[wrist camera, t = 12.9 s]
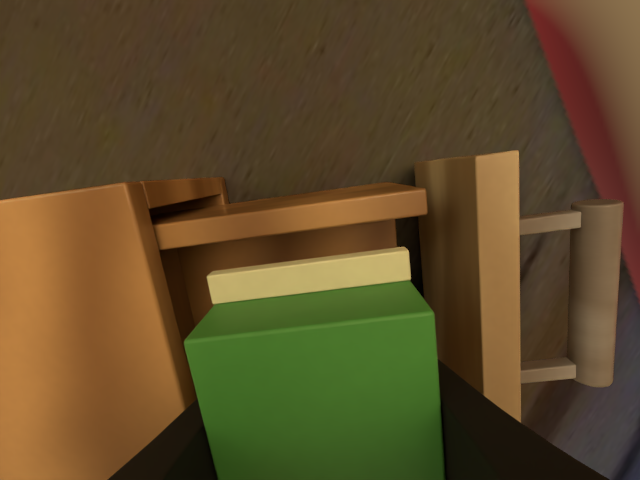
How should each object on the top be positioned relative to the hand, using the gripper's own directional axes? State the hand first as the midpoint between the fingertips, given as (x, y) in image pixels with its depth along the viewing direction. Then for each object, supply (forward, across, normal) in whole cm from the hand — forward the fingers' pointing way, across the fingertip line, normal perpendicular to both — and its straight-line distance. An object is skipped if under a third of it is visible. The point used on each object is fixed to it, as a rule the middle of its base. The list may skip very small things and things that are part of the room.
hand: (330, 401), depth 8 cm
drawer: (+8, -2, 0) cm, 8 cm away
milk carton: (+1, 0, 0) cm, 1 cm away
